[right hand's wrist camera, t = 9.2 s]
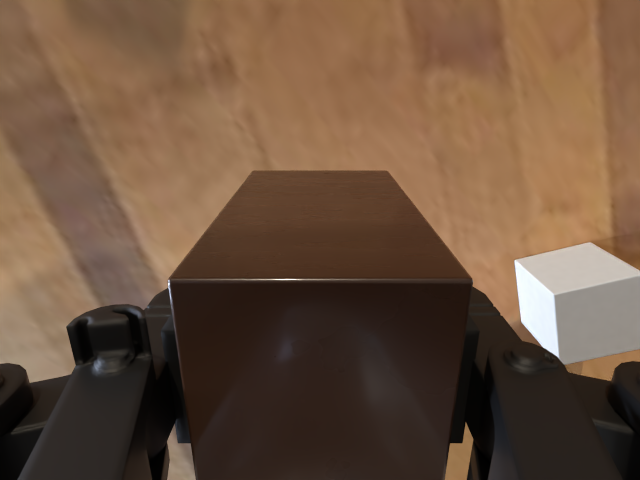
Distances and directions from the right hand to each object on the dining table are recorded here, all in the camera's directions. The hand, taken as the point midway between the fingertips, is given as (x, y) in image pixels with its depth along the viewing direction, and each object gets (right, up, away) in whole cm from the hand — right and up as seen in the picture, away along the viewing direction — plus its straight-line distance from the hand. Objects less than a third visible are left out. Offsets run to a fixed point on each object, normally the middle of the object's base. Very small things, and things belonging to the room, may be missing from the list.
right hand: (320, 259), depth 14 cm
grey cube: (+16, -2, +14) cm, 22 cm away
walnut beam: (0, -8, +3) cm, 9 cm away
